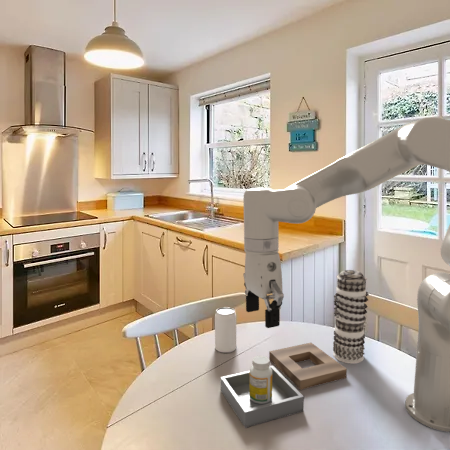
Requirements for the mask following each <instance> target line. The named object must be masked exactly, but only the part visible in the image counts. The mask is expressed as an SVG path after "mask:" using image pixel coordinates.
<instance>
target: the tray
mask: <svg viewBox="0 0 450 450" xmlns="http://www.w3.org/2000/svg"><path fill="white" fill-rule="evenodd" d="M270 367H271V369H272V399H271V401H270V402H268V403H266V404H257V403H254V402H253V401H252V400H251V399H250V393H249V392H250V391H249V383H250V375H249V373H250V370H246V371H242V372H238V373H233V374H228V375H224V376H220V392H221V393H222V394H223V397H224V398H225V399H226V401H227V403H228V404H229V406H230V407H231V408H232V410H233V412H234V413H235V414H236V416H237V419H238V420H240V423H241V424H242V426H243V427H244V429H246V428H249V427H253V426H257V425H261V424H264V423H267V422H271V421H275V420H277V419H281V418H284V417H288V416H291V415H295V414H296V415H297V414H299V413H302V412H304V404H305V403H304V402H305V401H304V400H305V396H304V395H303V394H302V393H301V392H300V391H299V389H298V388H296V387H295V386H294V385H293V383H291V382H290V380H288V379H287V377H286V376H285V375H284V374H283V373H282V372H281V371H280V370H279V369H278V368H277V367H275V365H274V364H273V365H270ZM285 377H286V378H285Z"/></svg>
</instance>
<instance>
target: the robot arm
mask: <svg viewBox="0 0 450 450" xmlns="http://www.w3.org/2000/svg"><path fill="white" fill-rule="evenodd" d="M420 165H426V166H430V167H434V168H436V169H441V170H445V171H448V172H449V173H450V119H445V118H440V117H423V118H421V119H418V120H414V121H412V122H408V123H406V124H403V125H401V126H399V127H397V128H396V129H394V130H392V131H390V132H388V133H386V134H384V135H382V136H380V137H379V138H377V139H375V140H373V141H371V142H370V143H368V144H365V145H364V146H362V147H360V148H358V149H356V150H353V151H352V152H350V153H348V154H346V155H345V156H343V157H341V158H339V159H337V160H336V161H334V162H332V163H331V164H329V165H327V166H325V167H323V168H321V169H320V170H318V171H316V172H314V173H312V174H310V175H308V176H306V177H304V178H302V179H301V180H299V181H297V182H295V183H293V184H291V185H289V186H287V187H286V188H284V189H275V188H272V187H270V188H269V187H253V188H249V189H246V190H245V191H244V193H243V238H244V239H243V243H244V245H243V250H244V253H245V258H244V273H243V276H242V277H243V280H244V284H243V286H244V287H245V291H244V294H245V312H247V313H252V312H256V311H257V312H258V311H260V299H262V300H263V301H264V304H265V308H266V309H265V310H264V317H265V318H264V321H265V322H264V323H265V325H264V326H265V328H267V329H271V328H275V327H279V326H280V321H281V320H280V319H281V317H280V316H281V315H280V310H281V308H282V305H283V300H284V297H285V294H284V293H283V277H282V276H283V273H282V264H281V263H282V262H281V257H280V253H279V246H280V245H279V222H280V223H288V224H304V223H306V222H308V221H309V220H311V219H312V217H314V215H315V213H316V210H317V209H318V208H319V207H321V206H323V205H326V204H328V203H330V202H332V201H334V200H337V199H339V198H343V197H346V196H351V195H358V194H361V193H364V192H366V191H371V190H372V189H373V188H376V187H378V186H380V185H382V184H383V183H385V182H387V181H389V180H391V179H394V178H396V177H397V176H400V175H402V174H403V173H405V172H408V171H409V170H412V169H413V168H415V167H418V166H420ZM440 255H441V259H442V260H443V262H444V263H445V264H447V265H448V266H449V267H450V224H449V225H448V227H447V231H446V233H445V235H444V238H443V240H442V242H441V247H440ZM270 300H272V301H271V302H270ZM416 301H417V302H416V303H417V313H418V315H417V316H418V330H417V344H416V356H415V357H416V358H415V370H414V371H415V372H414V382H413V383H414V384H413V392H412V393H410V394H409V395H407V397H406V398H405V400H404V406H405V407H404V408H405V409H406V411H407V413H408V414H409V415H410V416H411V417H412V418H413V420H415V421H418V422H419V423H420V424H422V425H423V426H426V427H429V428H431V429H434V430H436V431H442V432H445V433H446V432H448V433H450V273H449V272H435V273H432V274H429V275H427V276H426V277H425V278H424V279H423V280H422V281H421V283H420V284H419V287H418V290H417V299H416Z"/></svg>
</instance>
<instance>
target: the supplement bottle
mask: <svg viewBox="0 0 450 450" xmlns="http://www.w3.org/2000/svg"><path fill="white" fill-rule="evenodd" d="M251 363H252V364H251V366H250V367H249V371H250V373H249V375H250V383H249V391H250V392H249V393H250V399H251V400H252V401H253V402H254V403H257V404H266V403H268V402H270V401H271V399H272V369H271V367H270V366H271V361H270V359H269V357H267V356H265V355H256V356H253V358H252V361H251Z"/></svg>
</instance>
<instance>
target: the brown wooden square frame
mask: <svg viewBox="0 0 450 450" xmlns="http://www.w3.org/2000/svg"><path fill="white" fill-rule="evenodd" d="M268 352H269V354H268V355H269V357H268V358H269V359H270V363H272V364H273V366H274V367H275V366H276V367H275V368H276V369H277V370H278V371H279V372H281V373H282V374H283V375H284V376H285V377H286V378H288V379H289V381H291V382H292V384H294V385H295V386H296V387H297V389H298V390H300V391H302V390H305V389H309V388H313V387H318V386H321V385H324V384H328V383H332V382H336V381H340V380H344V379H348V377H347V376H348V375H347V373H348V369H347V367H345V366H344V365H342V364H341V363H339V361H338V360H337V359H334V357H331V355H329V354H327V353H326V352H325V351H323V350H322V349H321V348H319V347H318V346H316V345H315V344H314V343H312V342H306V343H302V344H297V345H293V346H287V347H283V348H279V349H273V350H269V351H268ZM306 361H310V362H312V363H313V364H314V365H312V366H309V367H304V368H302V367H301V366H300V365H299V364H298V363H302V362H306Z"/></svg>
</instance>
